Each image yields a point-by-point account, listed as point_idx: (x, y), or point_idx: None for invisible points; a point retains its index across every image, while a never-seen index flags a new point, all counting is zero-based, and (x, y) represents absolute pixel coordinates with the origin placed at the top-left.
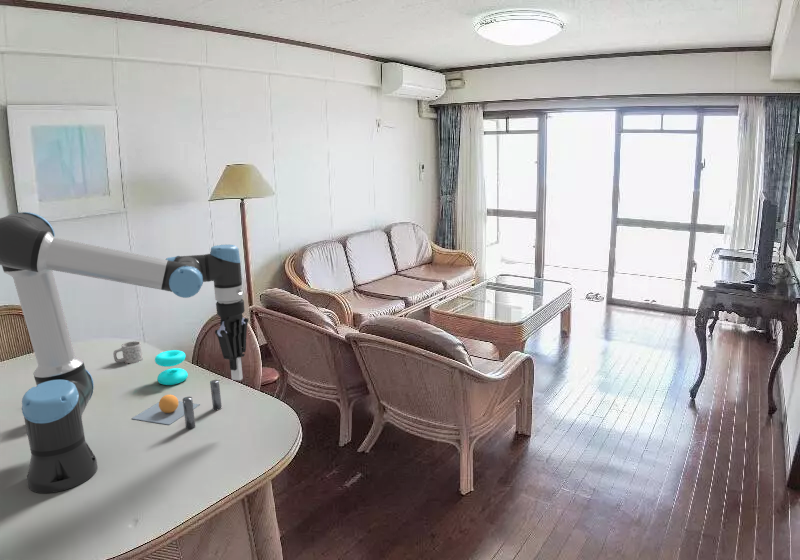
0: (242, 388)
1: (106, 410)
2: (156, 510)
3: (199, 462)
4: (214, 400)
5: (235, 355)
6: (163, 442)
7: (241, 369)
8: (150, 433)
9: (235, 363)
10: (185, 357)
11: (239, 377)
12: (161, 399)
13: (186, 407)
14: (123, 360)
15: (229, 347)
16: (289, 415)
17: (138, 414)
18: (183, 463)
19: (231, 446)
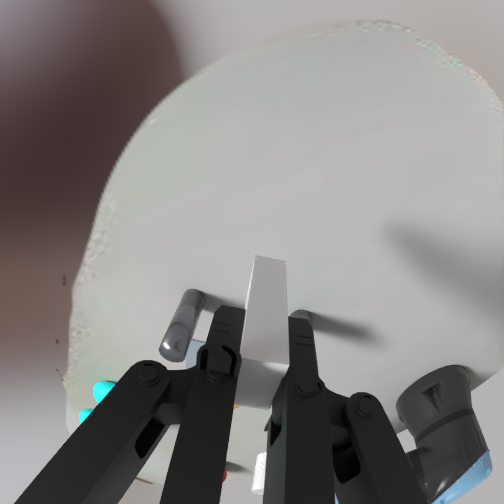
0: (86, 278)
1: (242, 434)
2: None
3: (457, 231)
4: (198, 316)
5: (311, 406)
6: (366, 336)
7: (255, 289)
8: (325, 370)
9: (294, 351)
10: (86, 410)
11: (285, 271)
12: (239, 406)
13: (316, 359)
14: None
15: (406, 500)
16: (202, 72)
17: (252, 407)
18: (453, 262)
19: (403, 182)
